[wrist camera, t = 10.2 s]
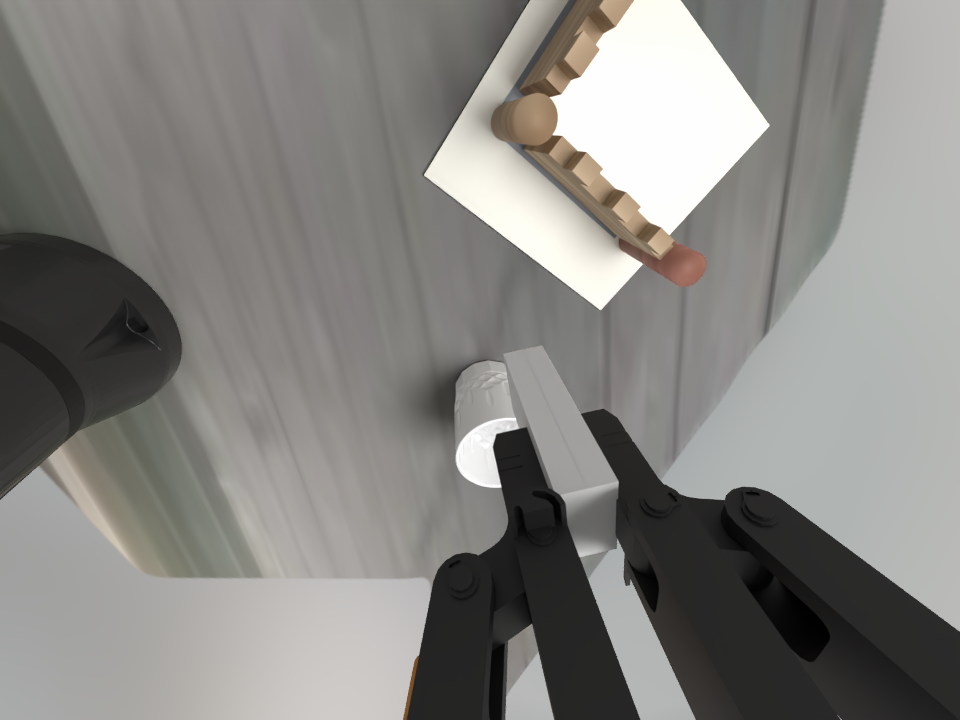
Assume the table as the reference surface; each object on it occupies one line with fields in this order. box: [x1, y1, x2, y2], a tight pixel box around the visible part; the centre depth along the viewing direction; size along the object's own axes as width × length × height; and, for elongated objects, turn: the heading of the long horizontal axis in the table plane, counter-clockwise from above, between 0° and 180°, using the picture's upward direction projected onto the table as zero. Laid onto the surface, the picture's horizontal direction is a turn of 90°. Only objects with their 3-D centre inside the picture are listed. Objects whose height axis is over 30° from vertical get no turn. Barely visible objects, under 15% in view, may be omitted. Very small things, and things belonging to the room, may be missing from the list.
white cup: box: [454, 360, 519, 488], centre depth 36 cm, size 8×8×10 cm
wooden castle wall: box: [491, 0, 634, 146], centre depth 22 cm, size 2×14×9 cm, turn 143°
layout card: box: [424, 0, 770, 310], centre depth 30 cm, size 20×19×1 cm
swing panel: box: [524, 135, 707, 287], centre depth 27 cm, size 2×13×8 cm, turn 53°
